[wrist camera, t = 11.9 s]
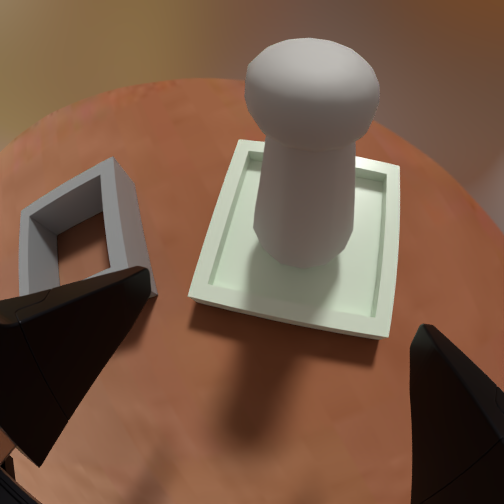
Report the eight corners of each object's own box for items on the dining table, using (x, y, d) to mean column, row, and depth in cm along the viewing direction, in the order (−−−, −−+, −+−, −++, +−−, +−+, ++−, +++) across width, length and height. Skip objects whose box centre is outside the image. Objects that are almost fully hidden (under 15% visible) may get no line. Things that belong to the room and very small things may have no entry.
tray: (379, 339, 17) (388, 337, 15) (196, 302, 19) (187, 295, 18) (392, 180, 21) (399, 166, 19) (242, 154, 23) (238, 139, 21)
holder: (157, 294, 20) (130, 278, 16) (55, 333, 20) (21, 324, 16) (134, 184, 24) (113, 156, 20) (47, 229, 23) (21, 210, 20)
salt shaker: (292, 297, 18) (299, 161, 6) (240, 228, 20) (180, 60, 8) (363, 243, 19) (441, 82, 7) (308, 183, 21) (316, 10, 9)
